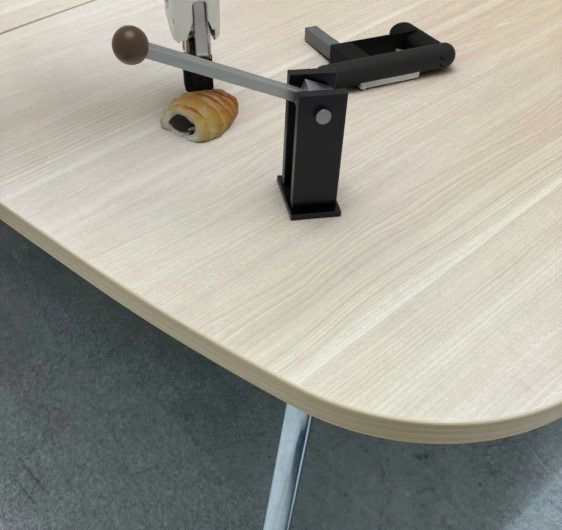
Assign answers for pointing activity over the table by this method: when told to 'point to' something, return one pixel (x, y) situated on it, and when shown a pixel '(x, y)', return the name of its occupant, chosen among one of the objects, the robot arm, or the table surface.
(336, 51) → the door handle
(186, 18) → the robot arm
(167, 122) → the pastry
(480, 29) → the table surface
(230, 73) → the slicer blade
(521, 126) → the table surface
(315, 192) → the black lever stand
